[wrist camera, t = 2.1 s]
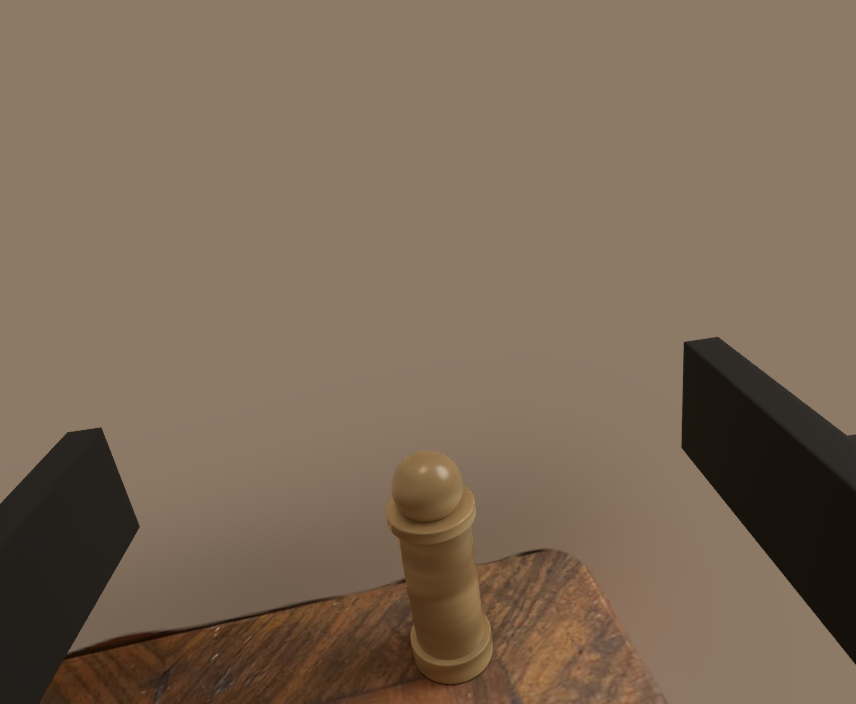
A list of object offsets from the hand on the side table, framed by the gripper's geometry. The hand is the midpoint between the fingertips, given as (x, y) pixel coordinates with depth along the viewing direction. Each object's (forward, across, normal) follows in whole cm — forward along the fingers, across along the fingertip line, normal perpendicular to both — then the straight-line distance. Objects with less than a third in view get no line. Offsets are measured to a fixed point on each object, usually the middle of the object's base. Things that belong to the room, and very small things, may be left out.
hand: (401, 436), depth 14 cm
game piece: (+10, 0, -18) cm, 20 cm away
